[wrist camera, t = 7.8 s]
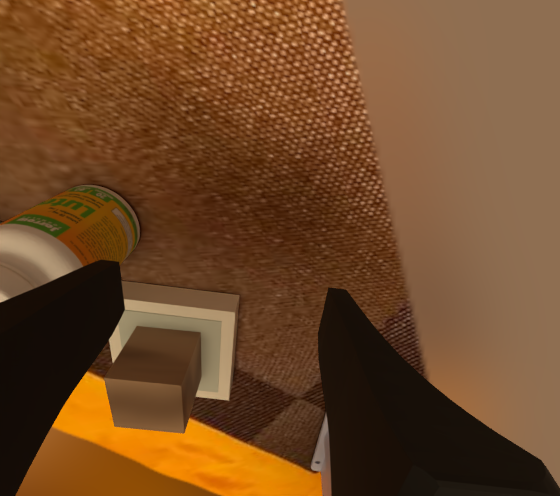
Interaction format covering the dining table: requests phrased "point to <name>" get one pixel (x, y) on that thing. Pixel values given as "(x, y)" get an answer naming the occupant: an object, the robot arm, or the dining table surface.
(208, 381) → the tile base
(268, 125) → the dining table surface
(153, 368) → the walnut block
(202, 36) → the dining table surface
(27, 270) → the supplement bottle
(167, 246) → the dining table surface
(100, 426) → the dining table surface
